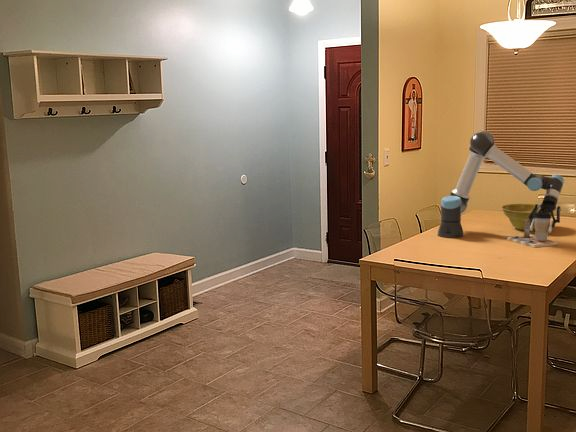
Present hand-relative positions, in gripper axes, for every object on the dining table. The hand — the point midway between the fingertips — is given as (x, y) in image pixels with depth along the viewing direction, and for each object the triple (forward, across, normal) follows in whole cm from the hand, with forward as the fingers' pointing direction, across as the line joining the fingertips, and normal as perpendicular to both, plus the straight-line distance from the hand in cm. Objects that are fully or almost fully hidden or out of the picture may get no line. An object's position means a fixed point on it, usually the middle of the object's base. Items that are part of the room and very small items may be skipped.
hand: (540, 230), depth 349 cm
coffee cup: (+2, 0, -6) cm, 7 cm away
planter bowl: (-23, +22, -36) cm, 48 cm away
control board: (+2, +6, -9) cm, 11 cm away
